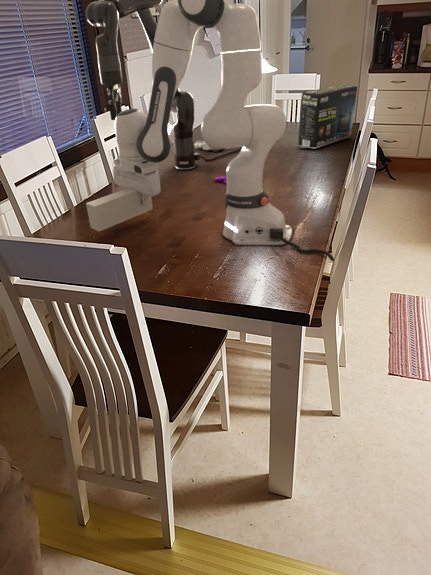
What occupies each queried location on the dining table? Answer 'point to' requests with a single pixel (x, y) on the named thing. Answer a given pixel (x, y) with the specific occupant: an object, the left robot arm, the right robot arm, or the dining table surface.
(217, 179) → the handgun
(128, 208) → the bar
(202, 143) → the fossil
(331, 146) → the dining table surface
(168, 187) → the dining table surface
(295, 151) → the dining table surface
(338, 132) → the router box
